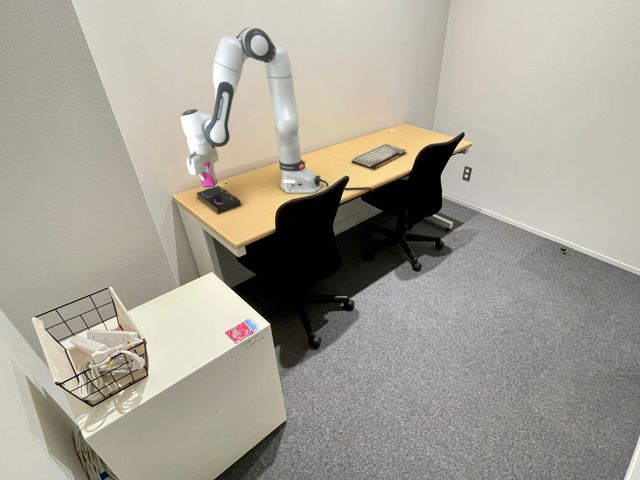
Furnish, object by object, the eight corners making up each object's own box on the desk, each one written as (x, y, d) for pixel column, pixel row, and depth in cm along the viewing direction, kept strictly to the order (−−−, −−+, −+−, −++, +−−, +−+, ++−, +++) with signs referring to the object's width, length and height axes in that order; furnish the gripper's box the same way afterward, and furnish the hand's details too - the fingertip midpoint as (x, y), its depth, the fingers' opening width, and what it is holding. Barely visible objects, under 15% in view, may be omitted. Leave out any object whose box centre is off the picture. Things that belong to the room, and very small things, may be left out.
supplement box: (205, 182, 164) (199, 159, 157) (217, 182, 165) (211, 159, 157) (202, 187, 160) (195, 164, 153) (214, 187, 160) (208, 164, 153)
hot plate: (243, 204, 162) (241, 198, 160) (218, 214, 155) (216, 207, 153) (221, 190, 174) (219, 183, 172) (197, 198, 167) (195, 191, 164)
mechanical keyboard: (374, 170, 197) (374, 164, 195) (349, 162, 207) (349, 157, 205) (407, 153, 220) (407, 148, 218) (384, 147, 230) (384, 142, 228)
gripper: (193, 157, 143) (202, 186, 151) (217, 141, 158) (223, 169, 167) (180, 155, 143) (189, 185, 152) (205, 140, 159) (212, 168, 168)
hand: (207, 176), depth 160 cm, fingers closed on supplement box, 6 cm apart
